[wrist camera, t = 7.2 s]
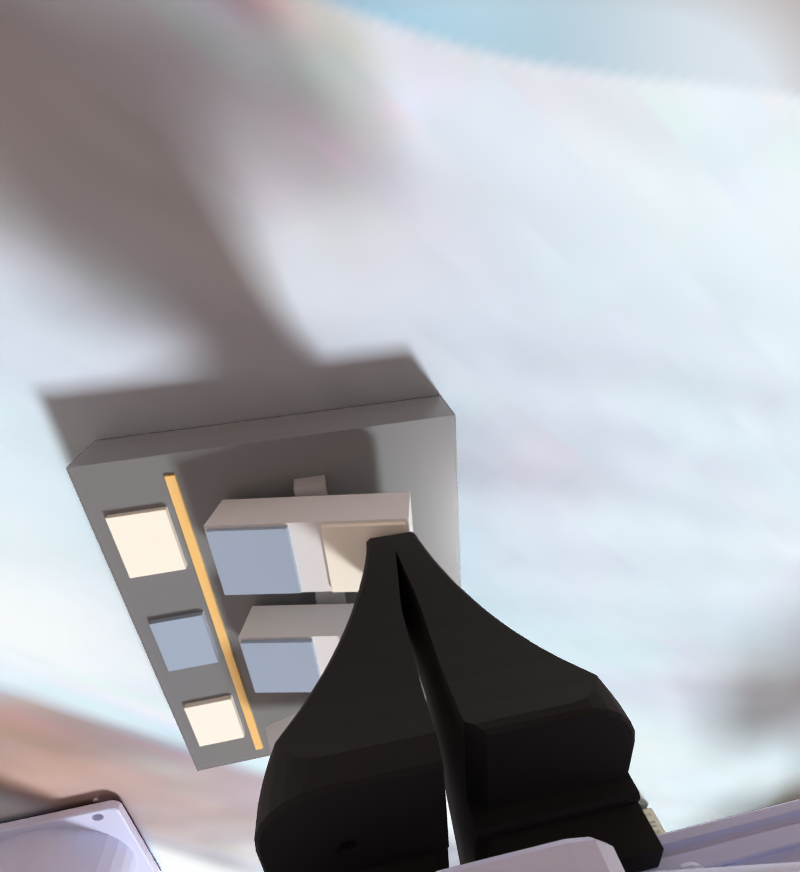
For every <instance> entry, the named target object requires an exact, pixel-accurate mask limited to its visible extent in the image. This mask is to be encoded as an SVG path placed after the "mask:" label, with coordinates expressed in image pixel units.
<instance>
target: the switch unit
mask: <svg viewBox="0 0 800 872" xmlns="http://www.w3.org/2000/svg"><path fill="white" fill-rule="evenodd" d="M66 469H67V471H68V474H69V476H70V478H71V481H72V483H73V485H74V487H75V490H76V492H77V494H78V497H79V499H80V501H81V504H82V506H83V508H84V511H85V513H86V515H87V517H88V520H89V522H90V524H91V527H92V529H93V531H94V534H95V536H96V538H97V540H98V543H99V545H100V547H101V550H102V552H103V554H104V557H105V559H106V561H107V564H108V566H109V568H110V570H111V573H112V575H113V577H114V580H115V582H116V584H117V587H118V589H119V591H120V594H121V596H122V598H123V600H124V603H125V605H126V607H127V610H128V612H129V614H130V617H131V619H132V621H133V623H134V626H135V628H136V630H137V633H138V635H139V637H140V640H141V642H142V644H143V647H144V649H145V651H146V653H147V656H148V658H149V660H150V663H151V665H152V667H153V670H154V672H155V674H156V676H157V679H158V681H159V683H160V686H161V688H162V690H163V693H164V695H165V697H166V700H167V702H168V704H169V706H170V709H171V711H172V713H173V716H174V718H175V720H176V723H177V725H178V727H179V730H180V732H181V734H182V736H183V739H184V741H185V743H186V746H187V748H188V750H189V753H190V755H191V757H192V759H193V762H194V764H195V766H196V769H197V771H199V770H204V769H208V768H213V767H218V766H222V765H227V764H232V763H237V762H241V761H246V760H251V759H255V758H260V757H265V756H269V755H271V754H270V749H269V744H268V739H267V734H266V729H265V727H267V726H269V725H271V724H274V723H276V722H278V721H280V720H282V719H284V718H286V717H289V716H291V715H293V714H295V713H297V712H298V711H299V710H300V708H301V707H302V705H303V704H304V702H305V701H306V699H307V698H308V696H309V695H310V693H311V692H275V693H255V690H254V687H253V684H252V681H251V678H250V674H249V671H248V668H247V665H246V661H245V658H244V655H243V652H242V649H241V645H240V642H239V639H238V637H239V635H240V632H241V630H242V628H243V626H244V624H245V621H246V619H247V617H248V615H249V612H250V610H251V608H252V606H272V605H314V604H354V603H355V600H356V597H357V594H358V592H332V591H325V592H301V593H287V594H248V595H225V594H224V591H223V587H222V584H221V581H220V578H219V575H218V571H217V568H216V565H215V562H214V559H213V555H212V552H211V549H210V546H209V542H208V539H207V536H206V533H205V530H204V524H205V523H206V522H207V520H208V519H209V518H210V516H211V515H212V514H213V512H214V511H215V509H216V508H217V507H218V505H219V504H220V503H221V501H222V500H230V499H253V498H277V497H301V496H325V495H348V494H372V493H396V492H410V498H411V510H412V522H413V533H415V534H416V536H417V537H418V539H419V540H420V542H421V543H422V544H423V546H424V547H425V549H426V550H427V551H428V552H429V554H430V555H431V556H432V557H433V559H434V560H435V561H436V562H437V563H438V564H439V566H440V567H441V568H442V569H443V570H444V571H445V572H446V573H447V574H448V575H449V576H450V578H451V579H452V580H453V581H454V582H455V583H456V584H457V585H458V586H459V587H460V588H461V579H460V547H459V515H458V483H457V451H456V419H455V414H454V412H453V411H452V410H451V408H450V407H449V406H448V404H447V403H446V402H445V400H444V399H443V398H442V396H441V395H440V396H433V397H425V398H417V399H410V400H402V401H394V402H387V403H379V404H372V405H364V406H356V407H349V408H341V409H333V410H326V411H318V412H310V413H303V414H295V415H288V416H280V417H272V418H265V419H257V420H249V421H242V422H234V423H227V424H219V425H211V426H204V427H196V428H188V429H181V430H173V431H165V432H158V433H150V434H143V435H135V436H127V437H120V438H112V439H104V440H97V441H94V442H93V443H92V444H91V445H90V446H89V447H88V448H87V449H86V450H85V451H84V452H83V453H82V454H81V455H79V456H78V457H77V458H76V459H75V460H74V461H73V462H72V463H71V464H70V465H69V466H68V467H67V468H66Z"/></svg>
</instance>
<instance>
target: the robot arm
mask: <svg viewBox="0 0 800 872" xmlns="http://www.w3.org/2000/svg"><path fill="white" fill-rule="evenodd" d="M366 546H367V549H366V560H365V565H364V571H363V575H362V579H361V583H360V587H359V590H358V594H357V597H356V600H355V603H354V606H353V609H352V612H351V614H350V617H349V620H348V622H347V625H346V627H345V629H344V632H343V634H342V636H341V639H340V641H339V643H338V645H337V647H336V649H335V651H334V653H333V655H332V657H331V659H330V661H329V663H328V665H327V666H326V668H325V670H324V672H323V674H322V675H321V677H320V679H319V680H318V682H317V683H316V685H315V687H314V688H313V690H312V691H311V693H310V695H309V696H308V698H307V699H306V701H305V702H304V704H303V705H302V707H301V708H300V710H299V711H298V713H297V714H296V715H295V717H294V718H293V719H292V721H291V722H290V723H289V725H288V726H287V727H286V729H285V730H284V731H283V733H282V734H281V735H280V737H279V738H278V739H277V741H276V742H275V744H274V747H273V750H272V753H271V756H270V759H269V762H268V765H267V769H266V772H265V776H264V780H263V784H262V788H261V793H260V798H259V803H258V810H257V820H256V829H255V838H254V840H255V847H256V852H257V855H258V857H259V860H260V862H261V865H262V867H263V870H264V872H800V799H797V800H793V801H789V802H785V803H781V804H777V805H773V806H769V807H765V808H761V809H757V810H753V811H750V812H746V813H742V814H738V815H734V816H730V817H726V818H722V819H718V820H714V821H710V822H706V823H702V824H698V825H694V826H690V827H687V828H683V829H679V830H675V831H671V832H667V833H663V834H659V835H656V834H655V832H654V830H653V828H652V826H651V825H650V823H649V821H648V819H647V817H646V816H645V814H644V812H643V810H642V808H641V807H640V805H639V803H638V801H639V799H640V794H639V791H638V789H637V787H636V786H635V784H634V782H633V780H632V779H631V777H630V775H629V773H628V770H629V766H630V761H631V756H632V752H633V747H634V742H635V730H634V728H633V726H632V724H631V721H630V720H629V718H628V717H627V715H626V713H625V712H624V710H623V709H622V707H621V706H620V704H619V703H618V701H617V700H616V699H615V698H614V696H613V695H612V694H611V692H610V691H609V690H608V689H607V688H606V686H605V685H604V684H603V683H602V681H601V680H600V679H599V678H598V676H597V675H595V674H593V673H591V672H588V671H586V670H584V669H582V668H580V667H578V666H576V665H574V664H571V663H569V662H567V661H565V660H563V659H561V658H559V657H557V656H555V655H553V654H551V653H549V652H548V651H546V650H544V649H542V648H540V647H539V646H537V645H535V644H533V643H532V642H530V641H529V640H527V639H526V638H524V637H523V636H521V635H519V634H518V633H516V632H515V631H513V630H512V629H510V628H509V627H507V626H506V625H505V624H503V623H502V622H501V621H499V620H498V619H496V618H495V617H494V616H492V615H491V614H490V613H489V612H487V611H486V610H485V609H484V608H483V607H481V606H480V605H479V604H478V603H477V602H475V601H474V600H473V599H472V598H471V597H470V596H469V595H468V594H467V593H466V592H465V591H464V590H462V589H461V588H460V587H459V586H458V585H457V584H456V583H455V582H454V581H453V580H452V579H451V578H450V576H449V575H448V574H447V573H446V572H445V571H444V570H443V569H442V568H441V567H440V566H439V564H438V563H437V562H436V561H435V560H434V559H433V557H432V556H431V555H430V554H429V552H428V551H427V550H426V549H425V547H424V546H423V544H422V543H421V542H420V540H419V539H418V537H417V536H416V534H415V533H413V532H406V533H400V534H394V535H387V536H381V537H375V538H370V539H369V540H368V541H367V542H366ZM419 677H420V678H419ZM421 684H422V685H421ZM422 687H423V688H422ZM423 691H424V692H423ZM424 694H425V695H424ZM425 697H426V698H425ZM426 701H427V702H426ZM445 790H446V794H445ZM446 795H447V800H448V805H449V810H450V815H451V820H452V825H453V830H454V835H455V840H456V845H457V850H458V855H459V860H460V865H458V866H454V867H450V868H449V859H448V847H449V841H448V825H447V810H446ZM0 872H161V871H160V869H159V868H158V866H157V864H156V862H155V861H154V859H153V857H152V855H151V854H150V852H149V850H148V849H147V847H146V845H145V843H144V842H143V840H142V838H141V836H140V835H139V833H138V831H137V829H136V828H135V826H134V824H133V822H132V821H131V819H130V817H129V816H128V814H127V812H126V810H125V809H124V807H123V805H122V804H121V803H120V802H119V801H116V800H109V801H104V802H100V803H95V804H90V805H86V806H81V807H76V808H72V809H67V810H62V811H58V812H53V813H49V814H44V815H39V816H35V817H30V818H25V819H21V820H16V821H11V822H7V823H2V824H0Z"/></svg>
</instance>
